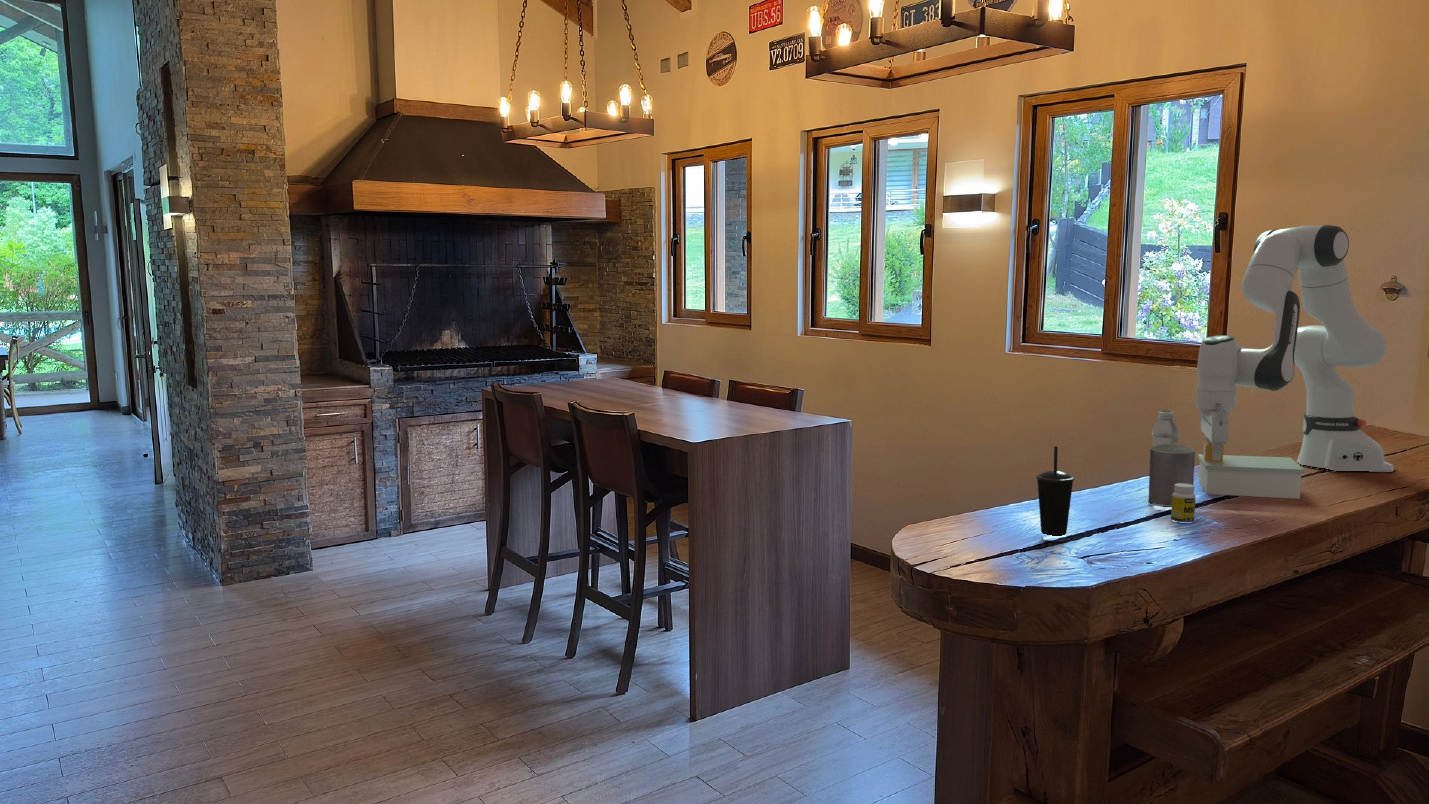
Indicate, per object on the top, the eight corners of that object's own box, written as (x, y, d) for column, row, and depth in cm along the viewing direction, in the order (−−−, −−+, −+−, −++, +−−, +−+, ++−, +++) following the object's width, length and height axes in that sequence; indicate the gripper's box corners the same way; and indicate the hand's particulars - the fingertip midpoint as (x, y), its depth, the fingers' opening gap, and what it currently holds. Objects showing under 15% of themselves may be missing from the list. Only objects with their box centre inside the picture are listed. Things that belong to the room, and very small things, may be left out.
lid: (1290, 467, 240) (1291, 441, 239) (1304, 479, 226) (1305, 453, 225) (1197, 463, 247) (1198, 439, 246) (1205, 475, 233) (1206, 449, 232)
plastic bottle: (1171, 485, 248) (1174, 409, 245) (1181, 491, 241) (1184, 413, 238) (1145, 485, 248) (1148, 409, 246) (1154, 491, 242) (1157, 413, 239)
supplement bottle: (1185, 525, 210) (1186, 488, 209) (1166, 520, 214) (1167, 484, 213) (1199, 522, 212) (1200, 485, 211) (1180, 517, 216) (1181, 481, 215)
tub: (1287, 488, 240) (1288, 461, 240) (1299, 501, 227) (1301, 473, 226) (1199, 484, 247) (1200, 458, 246) (1206, 497, 234) (1207, 469, 233)
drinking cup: (1068, 546, 197) (1071, 451, 194) (1030, 541, 201) (1032, 448, 198) (1076, 537, 203) (1078, 445, 200) (1039, 532, 207) (1041, 442, 204)
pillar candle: (1152, 497, 235) (1154, 438, 233) (1196, 502, 229) (1198, 441, 227) (1144, 506, 227) (1146, 445, 225) (1189, 511, 221) (1191, 448, 219)
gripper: (1236, 407, 226) (1234, 464, 228) (1223, 396, 245) (1221, 448, 247) (1207, 406, 228) (1204, 463, 230) (1196, 395, 247) (1194, 448, 249)
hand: (1213, 455), depth 239 cm, fingers open, 8 cm apart
